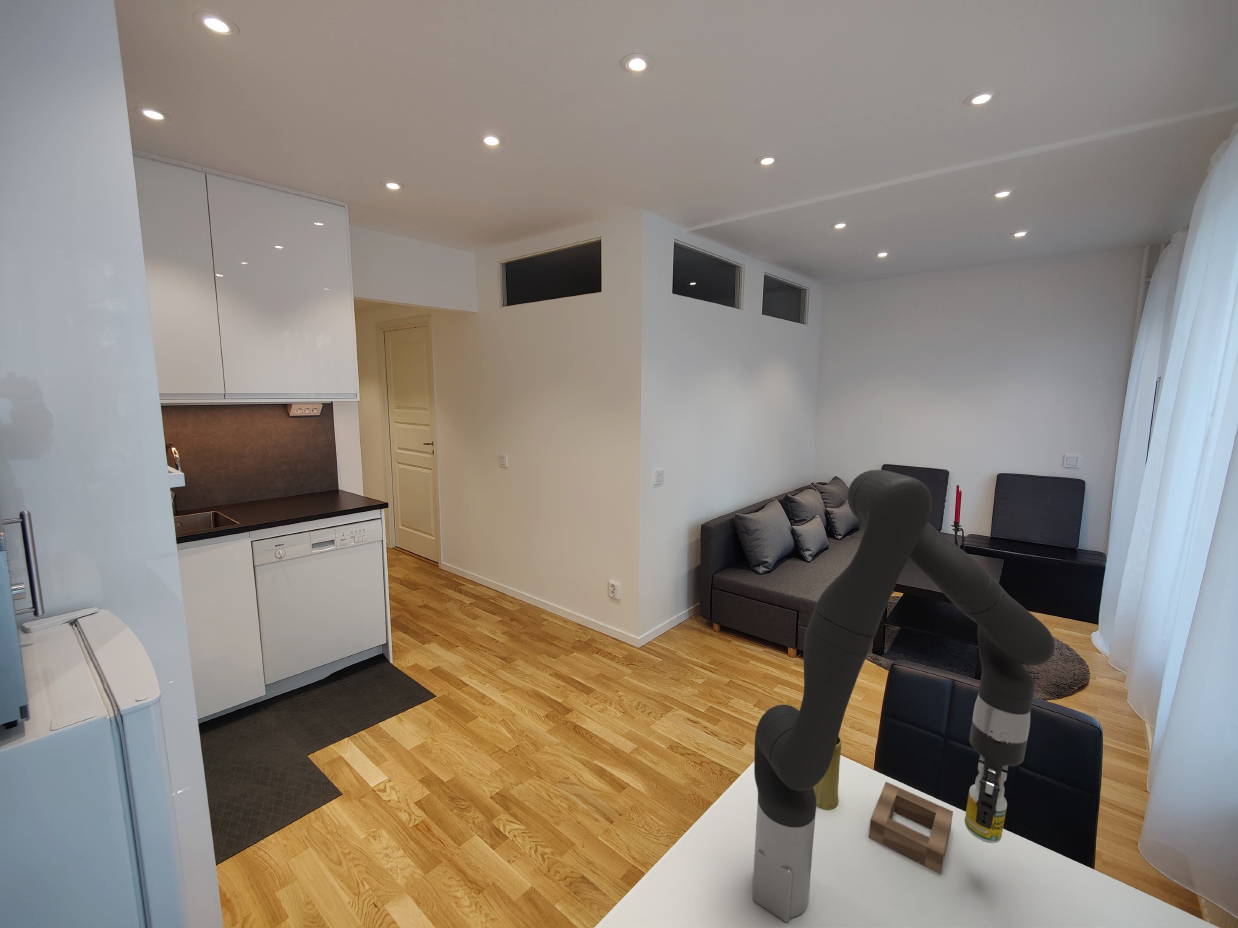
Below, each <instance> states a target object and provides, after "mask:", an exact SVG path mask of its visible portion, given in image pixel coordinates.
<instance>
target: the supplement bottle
mask: <svg viewBox="0 0 1238 928" xmlns="http://www.w3.org/2000/svg"><path fill="white" fill-rule="evenodd" d="M982 778H983V774H982ZM977 781H978V775H976V777H975V781H974V784H972V785H971V786H970V787H969V791H968V794H967V803H966V809H965V814H964V815H965V816H964V825H965V827H966V830H968V832H969V833H970V834H971V835H972V836H973V837H974V838H976V839H978V840H980V841H981V842H985V843H987V844H988V843H989V844H997V843H999V842H1000V841H1001V839H1002V836H1003V830H1004V825H1005V820H1006V813H1007V807H1008V802H1007V799H1006V797H1005V796H1004V795H1005V791H1006V790H1005V786H1004V784H1003V790H1002V796H1001V798H998V799H997V804H996V807H997V811H996V813H995V815H993V821H992V827H991V829H987V828H985V827H983V826H981V825H979V824H977V823H976V815H977V809H978V808H977V805H976V802H977V798H978V796H979V790H978V788H977ZM999 783H1000V781H999Z"/></svg>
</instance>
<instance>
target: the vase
mask: <svg viewBox="0 0 1238 928" xmlns="http://www.w3.org/2000/svg"><path fill="white" fill-rule="evenodd" d="M842 742H843V741H842V738H841V736H840V735H839V736H838V739H837V743H836V747H835V750H834V754H833V757H832V760H831V763H830V766H829V768H828V770H827V772H826V774H825V775H824V777H823V778H822V779H821V780H820V782H819V783H818V784H816V785H815V786H814V787H813V789H814V791H815V795H816V807H818V808H821V809H826V810H832V809H835V808H836V807H837V806H838V805H839V802H840V801H839V784H840V783H839V782H840V765H841V764H840V763H841V754H842V752H841V751H842Z"/></svg>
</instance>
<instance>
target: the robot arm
mask: <svg viewBox="0 0 1238 928" xmlns="http://www.w3.org/2000/svg"><path fill="white" fill-rule="evenodd" d="M847 503H848V507H849V510H850V511H851V513H852V514H853V515H854V517H855V518H856V519H858V521H860V522H861V523H862V524H864V525H865V527H864V531H863V534H862V538H861V539H860V542H859V545H858V547H857V550H856V553H855V554H854V556H853V558H852V560H851V561H850V563H849V564H848V566H847V567H846V568H845V569H843V571H842V572H841V573H840V574H839V575H838V576H836V578H835V579H834V580H832V582H831V583H830V584H829V585H828V586H827V587H826V588H825V589H824V591H823V592H822V593H821V594H820V596H819V598H818V600H817V602H816V604H815V605H814V606H815V607H814V609H813V611H812V613H811V617H810V618H809V622H808V623H807V627H806V631H805V633H804V634H805V635H804V639H803V695H802V698H801V699H802V701H801V705H800V708H799V709H798V708H796V707H794V706H792V705H791V704H778V705H777V704H776V705H775V706H772V707H771V708H768V709H767V710H766V711H765V712H764V713H763V715H762V716H761V717H760V718H759V721H758V723H757V725H756V729H755V735H754V757H753V758H754V764H753V765H754V767H753V768H754V770H753V771H754V773H753V774H754V780H755V784H756V789H757V807H756V809H757V810H756V821H755V822H756V823H755V836H754V838H755V839H754V853H753V854H754V856H753V875H752V900H753V901H754V902H755V903H756V904H757V905H760V906H761V907H763V908H764V909H765V910H767V911H768V912H770V913H771V914H773V915H775V916H776V917H777V918H779V919H780V920H782V921H783V922H785V923H789V922H790V920H791V918H795V917H798V916H800V915H802V914H803V913H804V912H805V911H806V910H807V907H808V906H809V901H810V899H809V898H810V887H811V876H812V875H811V873H812V862H813V850H814V849H813V848H814V837H815V836H814V835H815V826H816V825H815V824H816V813H817V812H816V811H817V806H816V795H815V791H814V789H813V787H814V786H815V785H816V784H818V783H819V782H820V780H821V779H822V778H823V777H824V775H825V774H826V772H827V770H828V768H829V766H830V763H831V760H832V757H833V754H834V750H835V747H836V743H837V739H838V736H840V731H841V728H842V724H843V721H844V717H845V713H846V711H847V707H848V705H849V702H850V699H851V697H852V694H853V691H854V689H855V686H856V683H857V680H858V678H859V675H860V672H861V669H862V668H863V665H864V663H865V661H866V658H867V657H868V654H869V651H870V649H871V647H872V644H873V642H874V639H875V637H876V635H877V632H878V629H879V626H880V623H881V620H882V617H883V615H884V612H885V611H886V608H887V606H888V603H889V601H890V599H891V597H892V594H893V592H894V590H895V587H896V584H897V583H898V580H899V578H900V576H901V574H902V571H903V569H904V568H905V566H906V564H907V562H908V560H910V561H911V562H913V563H914V565H916V567H918V569H919V570H921V571H922V573H924V575H926V577H928V579H929V580H930V581H931V582H932V583H933V584H934V585H935V586H936V587H937V588H938V589H939V590H940V591H941V592H942V593H943V594H944V596H946V598H948V600H949V601H950V602H951V603H952V604H954V606H955V607H956V608H957V609H958V610H959V611H960V612H961V613H962V614H963V615H965V616H966V617H967V618H969V620H971V621H973V622H974V623H976V624H977V643H978V651H979V661H980V664H981V676H980V681H979V686H978V694H977V697H976V700H975V703H974V708H973V714H972V721H971V727H970V732H969V733H970V734H969V744H970V746H971V747H972V748H973V750H974V751H975V752H977V753H978V754H979V759H978V763H977V764H978V765H977V770H978V775H977V776H978V781H977V788H978V790H979V796H978V798H977V802H976V805H977V808H978V809H977V815H976V823H977V824H979V825H981V826H983V827H985V828H987V829H991V827H992V821H993V815H995V813H996V811H997V807H996V804H997V799H998V798H1001V796H1002V790H1003V785H1004V783H1005V782H1006V781H1007V777H1008V773H1009V772H1008V771H1009V770H1008V769H1009V766H1012V767H1014V766H1018V765H1020V764H1023V762H1024V759H1025V755H1026V749H1027V744H1028V737H1029V734H1030V727H1031V709H1032V704H1033V698H1034V693H1035V692H1034V691H1035V680H1034V678H1033V676H1032V675H1031V674H1030V672H1029V671H1028V669H1027V668H1026V667H1025V666H1033V667H1034V666H1039V665H1043V664H1045V663H1047V662H1048V661H1049V660H1051V658H1052V657H1053V655H1054V653H1055V640H1054V637H1053V635H1052V632H1051V631H1050V630H1049V628H1047V626H1046V625H1045V624H1043V622H1042V621H1040V620H1039V619H1038V618H1037V617H1036V615H1034V614H1033V613H1031V612H1030V611H1028V609H1027V608H1025V607H1024V606H1023V605H1021V604H1020V603H1019V602H1018V601H1017V600H1015V599H1014V598H1013V597H1012V596H1011V595H1009V594H1008V592H1007V591H1006V590H1005V589H1004V588H1003V586H1001V584H1000V583H999V582H998V581H997V580H996V579H995V578H994V577H993V576H992V575H991V574H990V573H989V572H988V571H987V570H986V569H985V568H984V567H983V566H982V564H980V563H979V562H978V561H977V560H976V559H975V558H974V557H972V556H971V555H970V554H968V553H967V552H966V551H964V549H962V548H960V547H959V546H957V545H956V544H955V543H954V542H953V541H951V540H950V539H948V538H947V537H946V536H945V535H943V534H942V533H941V532H940V531H939V530H937V529H936V528H935V527H934V526H933V525H932V524H931V523H930V522H929V520H930V518H931V514H932V508H933V499H932V495H931V491H930V490H929V488H928V487H927V485H926V484H925V483H924V482H922V481H921V480H918V479H917V478H915V477H912V476H909V475H905V474H901V473H897V472H894V471H890V470H883V469H871V470H868V471H864V472H862V473H860V474H859V475H857V476H856V477H855V478H854V479H853V480H852V482H851V483H850V485H849V488H848V491H847ZM982 774H983V778H982ZM999 781H1000V783H999Z"/></svg>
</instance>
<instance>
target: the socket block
mask: <svg viewBox="0 0 1238 928" xmlns="http://www.w3.org/2000/svg"><path fill="white" fill-rule="evenodd" d="M895 813H896V814H897V815H899V816H902V817H904V818H905V819H908V820H910V821H913V822H915V823H916V824H919V825H920V826H922V827H926V828H927V829H929V830H931V831H930V835H929V836H927V835H925V834H923V833H920V832H918V830H914V829H912V828H910V827H909V826H907V825H905V824H902V823H900V822H898V821H896V820H893V817H894V814H895ZM953 813H954V811H952V810H951V809H948V808H946V807H944V806H942V805H939V804H937V803H936V802H935V803H934V802H932V801H931V800H928V799H925V798H924V797H922V796H920V795H917V794H915V793H912V792H910V791H908V790H906V789H904V788H901V787H899V786H897V785H895V784H892V783H890V782H888V781H885V783H884V785H883V787H882V790H881V793H880V795H879V797H878V799H877V803H876V805H875V807H874V810H873V811H872V815H871V816H870V821H869V830H868V838H870V839H872V840H873V841H875V842H877V843H879V844H882V845H883V846H885V847H887V848H889V849H891V850H893V851H895V852H897V853H899V854H900V855H903V856H905V857H907V858H908V859H911V860H912V861H914V862H917V863H919V864H920V865H921V866H925V868H928V869H930V870H932V871H934V872H935V873H938V874H939V875H941V874H942V871H943V870H942V869H943V865H944V861H945V857H946V852H947V847H948V843H949V839H950V834H951V830H952V829H951V828H952V822H953V815H954V814H953Z"/></svg>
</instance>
